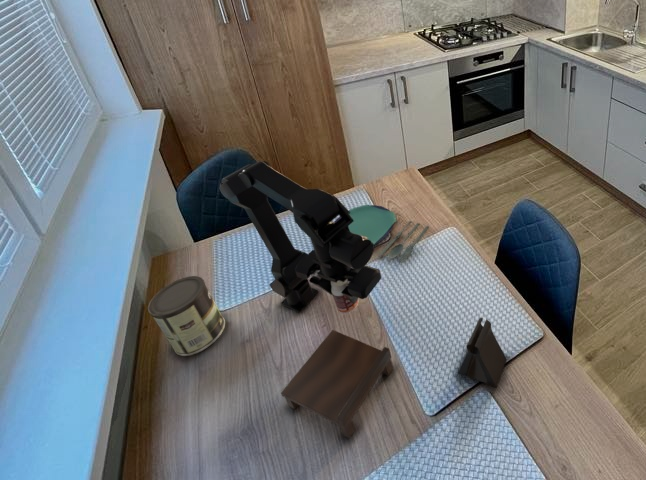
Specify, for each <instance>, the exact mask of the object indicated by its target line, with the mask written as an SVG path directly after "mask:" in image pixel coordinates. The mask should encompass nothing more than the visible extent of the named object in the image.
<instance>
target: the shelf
mask: <svg viewBox="0 0 646 480" xmlns="http://www.w3.org/2000/svg"><path fill="white" fill-rule="evenodd" d="M391 359H392V354H391V351H390V348H389V347H386V346H384V347H383V348H382V350H381V349H379V348H377V347H375V346H372V345H369V344H367V343H365V342H363V341H361V340H358V339H356V338H353V337H351V336H348V335H346V334H344V333H341V332H339V331H337V330H334V329H332V330H330V332H329V333H328V334H327V336H326V337H325V338H324V340H323V341H322V342H321V343H320V345H319V346H318V347H317V348H316V350H315V351H314V352H313V353H312V354H311V355H310V356H309V358H308V359H307V360H306V362H305V363H304V364H303V365H302V366H301V368H300V369H299V370H298V371H297V372H296V373H295V375H294V376H293V377H292V379H291V380H290V381H289V382H288V384H287V385H286V386H285V387H284V389H282V391H281V392H280V394H281V396H282V397H284V398H285V401H286V403H287V404H288V405H287V406H288V407H289V408H291V409H293V410H296V409H297V408H298V407H299V406H300V407H302V408H304V409H306V410H308V411H310V412H312V413H314V414H316V415H317V416H319V417H321V418H323V419H325V420H327V421H329V422H330V423H332V424H335V425H337V426H338V427H339V429H340V432H341V434H342V436H343V437H345V438H347V439H349V440H350V439H351V437H352V436H353V434H354V432H355V431H356V427H355V425H354V423H353V420H352V419H353V418H354V416H355V415H356V413H357V412H358V410H359V408H360V407H361V405H362V404H363V402H364V401H365V399H366V398H367V396H368V394H370V391H371V390H372V388H373V387H374V385H375V384H376V382H377V380H378V379H379V378H380V376H381V375H382V374H383V375H384V376H385V375H386V376H387V377H390V375H391V373H392V372H393V371H394V367H393V363H392V360H391Z"/></svg>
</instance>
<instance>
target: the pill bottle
mask: <svg viewBox="0 0 646 480" xmlns="http://www.w3.org/2000/svg"><path fill="white" fill-rule="evenodd" d="M347 284H348V283H347V279H346V280H345V281H344V282H340V281H337V283H336V282H333V281H331V286H332V288H331V292H332V295H333V296H332V295H331V296H332V297H333V300H334V304H335V307H336V309H337V311H338V312H339V313H341V314H349V313H352V311H354V310H356V308H357V307H358V305H359V301H360V298H358V300H357V302H356V303H355V304H353V303H352V302H350V301H349V300H348V299H347V298H346V297H345V296H344V295H343V294H342V293H341V292H342V291H343V290H344V289H345V287H346V286H347Z"/></svg>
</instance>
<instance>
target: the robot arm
mask: <svg viewBox="0 0 646 480" xmlns="http://www.w3.org/2000/svg"><path fill="white" fill-rule="evenodd" d="M218 188H219V191H220V193H221V194H222V196H223V197H224V198H225V199H227V200H228V201H229V202H230V203H231V204H233V205H235V206H238V207H239V208H242V209H244V211H245V212H246V214H247V216H248V218H249V220H250V221H251V223H252V225H253V227H254V229H255V230H256V231H257V233H258V235H259V236H260V238H261V240H262V242H263V244H264V246H265V247H266V249H267V250H268V253H269V254H270V256H271V258H272V261H271V267H270V268H271V269H270V272H271V274H272V276H273V278H274V280H273V281H271V283H269V287H270V289H271V290H272V291H273V292H274V293H276V294H278V295H279V296H281V297H282V298H284V299H283V300H282V301H281V302H280V304H281V306H283V307H285V308H288V309H290V310H292V311H295V312H297V313H301V312H302V311H303V309H305V308H306V306H308V305H309V304H310V302H311V301H312V300H313V299H314V298H315V297H316V296H317V294H318V293H319V289H317V288H314V287H312V286H311V284H313V285H314V286H316V287H318V288H320V289H321V290H322V291H324V292H326V293H327V294H329V295H330V296H332V297H333V295H332V292H331V288H332V286H331V281H333V282H336V283H337V281H340V282H344V281H345V280H346V279H347V283H348V284H347V286H346V287H345V289H344V290H343V291H342V292H341V293H342V294H343V295H344V296H345V297H346V298H347V299H348V300H349V301H350V302H352V303H353V304H355V303H356V302H357V300H358V299H359V300H360V299H361V300H364V299H367V298H368V296H369V295H370V294H371V293H372V292H373V290H374V289H375V288H376V286H377V285H378V284H379V282H380V281H381V280H382V274H381V270H380V269H379V268H376V267H373V266H370V265H367V264H368V263H369V262H370V260H371V258H372V256H373V253H374V249H375V248H374V247H375V245H374V246H373V243H372V242H371V241H370V240H368V238H367V237H365V236H361V235H358V234H354V233H352V232H350V230H349V227H348V226H349V225H350V224H351V223H352V222H354V220H353V219H352V217H351V216H350V215H349V214H350V212H349V209H347V207H346V206H345V205H344V204H343V203H342V202H341V201H340V200H339V198H338V197H336V196H335V195H334V194H332V193H329V192H327V191H324V190H322V189H320V188H306V187H304V186H302V185H300V184H299V183H297V182H296V181H294V180H292V179H291V178H289V177H287V176H286V175H284V174H283V173H281V172H279V171H277V170H276V169H274V168H273V167H272V165H270V163H269V162H268V161H266V160H259V161H257V162H255V163H253V164H252V163H248V164H247V165H245V166H243V167H241V168H239V169H237V170H235V171H234V172H232V173H230V174H229V175H226V176H224V177H223V178H222V179H221V183H220V185H219V187H218ZM268 198H270V199H272V200H273V201H275V202H276V203H278V204H279V205H281V206H282V207H283V208H285V209H287V210H289V211H290V212H291V213H292V215H293V219H294V223H295V224H296V225H297V226H298V228H299V229H300V230H301V231H302V232H304V234H305V235H306V236H307V237H308V238H309V239H310V242H311V245H312V247H313V249H312V250H311V251H310V252H308V253H307V252H306V251H303V250H302V251H301V250H300V249H297V248H295V247H294V245H293V243H292V241H291V240H290V238H289V236H288V233H286V230H285V228H284V227H283V225H282V223H281V221H280V220H279V218H278V216H277V214H276V213H275V210H274V208H273V207H272V205H271V203H270V201H269V199H268ZM340 216H341V217H342V218H341V219H339V220H338V221H337V222H336V223H335V222H334V220H336V219H337V218H338V217H340Z"/></svg>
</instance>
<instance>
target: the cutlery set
mask: <svg viewBox="0 0 646 480" xmlns="http://www.w3.org/2000/svg"><path fill="white" fill-rule="evenodd" d="M348 211H349V212H350V214H349V215H350V216H351V217H352V219H353V220H354V222H352V223H351V224H350V225H349V226H348V227H349V230H350V232H352V233H354V234H358V235H361V236H365V237H367V238H368V240H370V241H371V242H372V243H373V246H374V247H375V246H376V245H378V244H379V243H381V242H382V241H383V240H385V239H386V238H387V237H388V235H390V233H391V231H392V230H393V228H394V224H395V223H397V221H398V220H397V218H396V213H394V211H391V210H390V209H389V208H387V207H385V206H383V205H376V204H371V205H370V204H363V205H360V206H356V207H353V208H350V209H348ZM341 218H342V217H341V216H340V215H339V216H338V217H336V218H335V219H334V220H333V222H335V223H336V222H337V221H338V220H339V219H341ZM410 224H412V221H411V220H409V222H408V223H407V224H406V225H405V226H404V228H402V229H401V230H400V231H399V232H397V234H396V235H395V236H394V238H393V239H392V240H390V242H389V243H387V245H386V246H385V247H384V248H383V250H382V251H381V252H380V257H383V256H384V254H385V253H386V252H387V251H388V250H389V249H390V247H391V246H392V245H393V244H394V243H395V242H396V241H397V240H399V239H400V237H401V236H402V234H403V232H405V230H407V229H406V228H408V226H409V225H410ZM420 226H421V224H420V223H419V222H417V223H416V224H415V225H414V226H413V228H412V229H411V230H410V231H409V233H408V234H407V235H406V237H405V238H404V240H403V241H402V243H398V244H396V245H394V246H393V247H392V248H391V249H390V251H389V252H388V256H387V258H388V259H393V258H396V257H398V256H399V255H400V254H401V253H402V252H403V253H402V254H401V256H400V257H399V259H398V260H397V262H399V263H401V264H402V263H404V262H405V260H406V259H407V258H408V257H409V256H410V255H411V254H412V253H413V249H414V247H415V246H416V245H417V244H418V242H419V241H421V238H423V236H424V235H425V233H426V232H427V231H428V230H429V229H430V228H429V227H430V226H429V225H425V227H424V228H423V230H422V231H421V232H420V234H419V235H418V237H417V238H416V239H415V240H414V241H413V242H412V244H410V245H409V246H407V247H406V249H404V244H405V243H406V242H407V240H408V239H409V238H410V237H411V235H412V234H413V233H414V232H415V231H416V230H417V229H418V227H420ZM403 250H404V251H403Z"/></svg>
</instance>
